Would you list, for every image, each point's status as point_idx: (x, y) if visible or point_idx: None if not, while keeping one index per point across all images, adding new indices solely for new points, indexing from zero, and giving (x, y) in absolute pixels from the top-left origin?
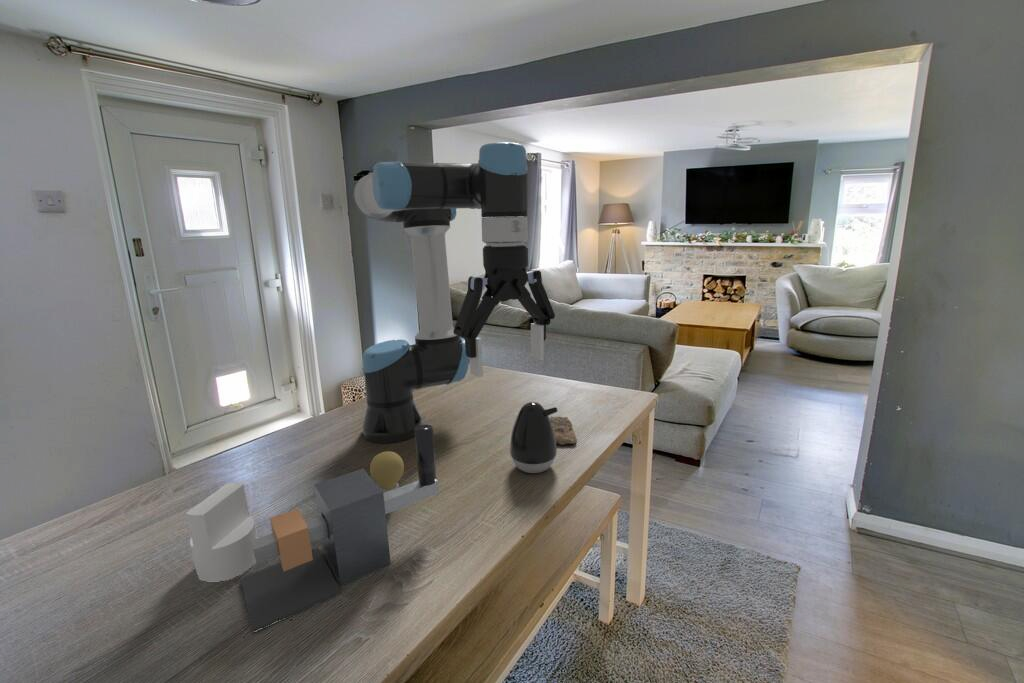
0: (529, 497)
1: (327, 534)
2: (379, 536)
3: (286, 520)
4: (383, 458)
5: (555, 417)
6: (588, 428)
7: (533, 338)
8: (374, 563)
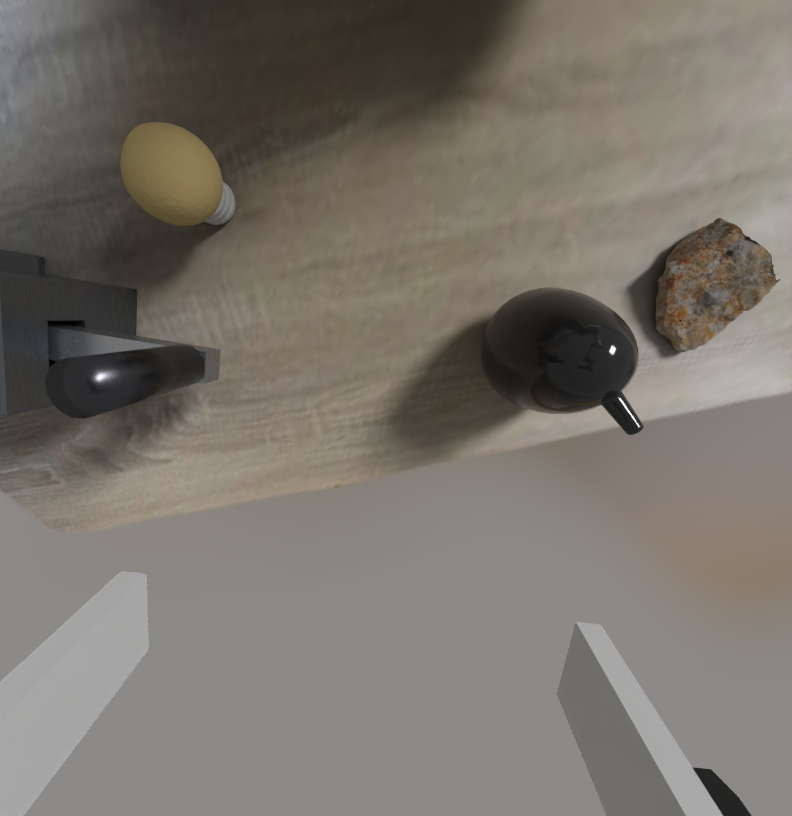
0: (429, 420)
1: None
2: None
3: None
4: (136, 178)
5: (760, 251)
6: (789, 315)
7: (644, 788)
8: None
